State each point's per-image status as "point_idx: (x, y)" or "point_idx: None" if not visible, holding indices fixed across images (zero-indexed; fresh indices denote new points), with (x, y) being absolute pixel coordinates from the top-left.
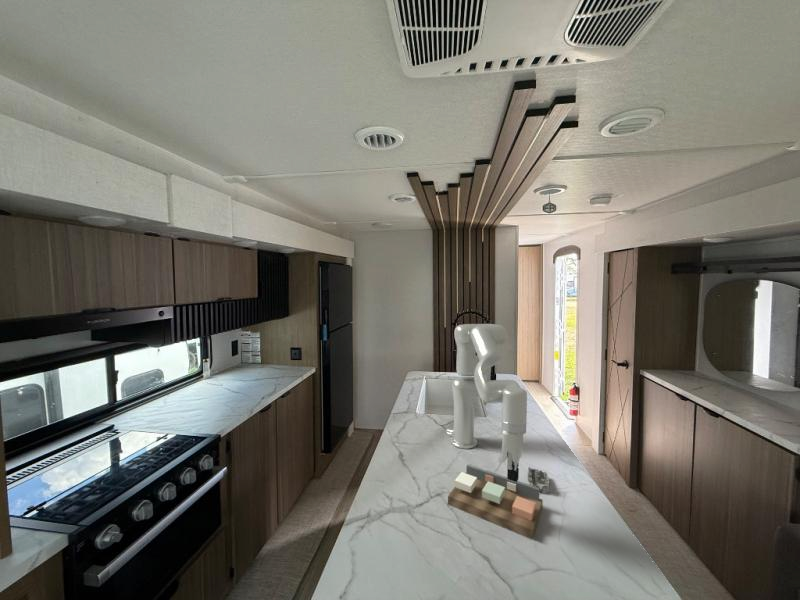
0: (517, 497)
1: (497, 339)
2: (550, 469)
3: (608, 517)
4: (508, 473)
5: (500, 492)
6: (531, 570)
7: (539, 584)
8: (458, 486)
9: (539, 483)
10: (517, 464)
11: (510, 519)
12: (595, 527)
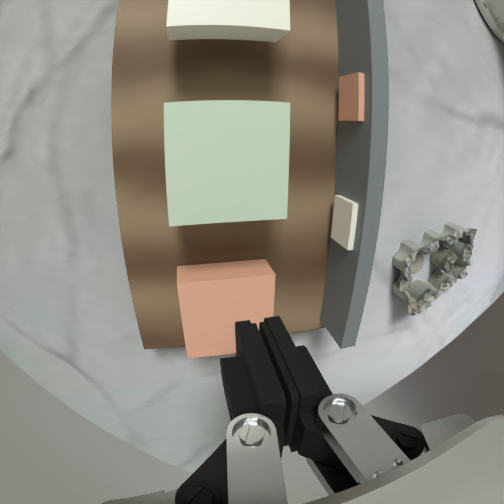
0: (263, 281)
1: None
2: (480, 265)
3: None
4: (247, 362)
5: (216, 213)
6: (47, 346)
7: (33, 364)
8: None
9: (430, 260)
10: (315, 472)
11: (137, 272)
12: None
